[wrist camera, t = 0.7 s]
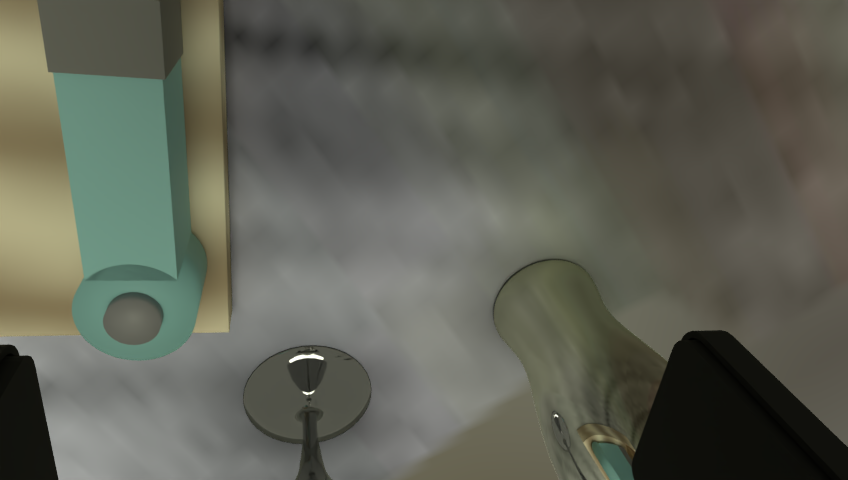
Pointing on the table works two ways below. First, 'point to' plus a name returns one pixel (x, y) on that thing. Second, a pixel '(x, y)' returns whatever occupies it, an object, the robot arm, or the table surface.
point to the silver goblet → (307, 400)
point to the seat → (50, 188)
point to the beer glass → (579, 369)
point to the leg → (126, 171)
